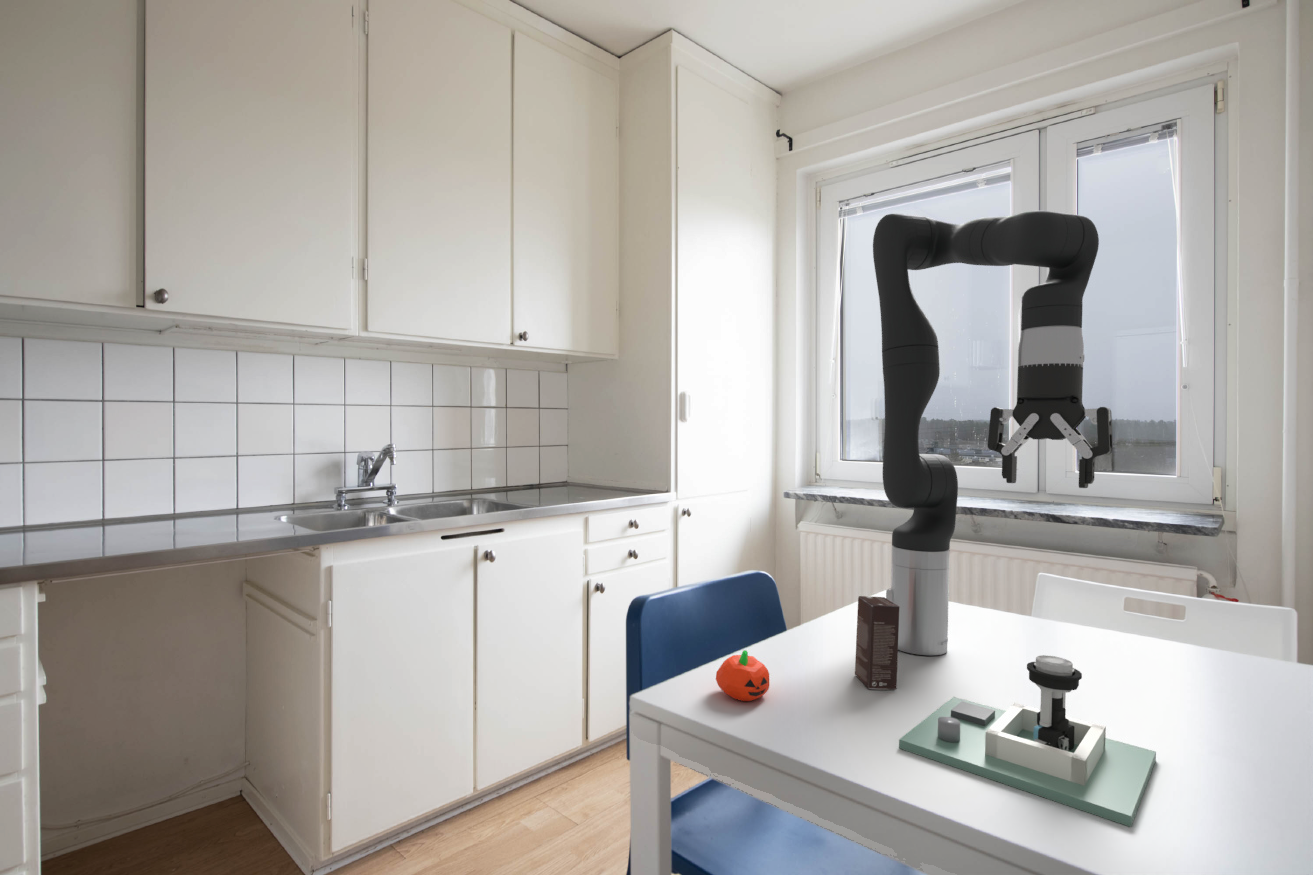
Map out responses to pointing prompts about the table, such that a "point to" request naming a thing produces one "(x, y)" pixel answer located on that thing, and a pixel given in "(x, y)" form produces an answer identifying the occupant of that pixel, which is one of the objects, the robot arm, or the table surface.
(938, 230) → the robot arm
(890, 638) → the box
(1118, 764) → the board
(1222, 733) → the table surface
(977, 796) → the table surface
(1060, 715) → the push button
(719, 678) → the pumpkin
